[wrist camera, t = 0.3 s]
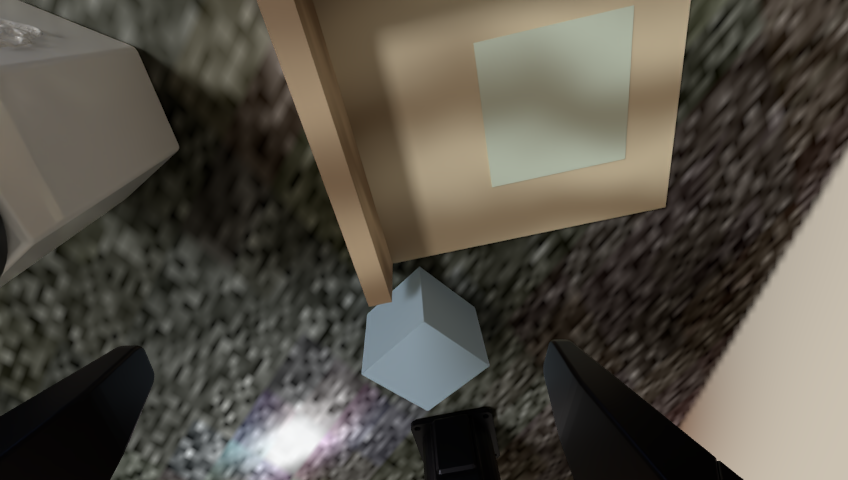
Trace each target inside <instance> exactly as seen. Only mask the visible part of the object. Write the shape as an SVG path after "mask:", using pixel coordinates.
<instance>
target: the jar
mask: <svg viewBox="0 0 848 480" xmlns="http://www.w3.org/2000/svg"><path fill="white" fill-rule="evenodd" d="M178 150H179V144H178V142H177V140H176V138H175V135H174V133H173V131H172V128H171V126H170V124H169V122H168V119H167V117H166V115H165V112H164V110H163V108H162V106H161V103H160V101H159V99H158V96H157V94H156V92H155V90H154V87H153V85H152V83H151V80H150V78H149V76H148V74H147V71H146V69H145V67H144V64H143V62H142V60H141V57H140V55H139V53H138V51H137V50H136V48H134V47H133V46H131V45H128V44H126V43H123V42H121V41H118V40H116V39H113V38H111V37H108V36H106V35H104V34H101V33H99V32H96V31H94V30H91V29H89V28H86V27H84V26H81V25H79V24H76V23H74V22H71V21H69V20H66V19H64V18H61V17H59V16H56V15H54V14H52V13H49V12H47V11H44V10H42V9H39V8H37V7H34V6H32V5H29V4H27V3H24V2H22V1H19V0H0V287H1V286H3V285H4V284H6V283H7V282H8V281H10V280H11V279H13V278H14V277H15V276H17V275H18V274H20V273H21V272H23V271H24V270H25V269H27V268H28V267H30V266H31V265H33V264H34V263H35V262H37V261H38V260H40V259H41V258H42V257H44V256H45V255H47V254H48V253H50V252H51V251H52V250H54V249H55V248H57V247H58V246H60V245H61V244H62V243H64V242H65V241H67V240H68V239H69V238H71V237H72V236H74V235H75V234H77V233H78V232H79V231H81V230H82V229H84V228H85V227H87V226H88V225H89V224H91V223H92V222H94V221H95V220H96V219H98V218H99V217H101V216H102V215H104V214H105V213H106V212H108V211H109V210H111V209H112V208H113V207H115V206H116V205H118V204H119V203H121V202H122V201H123V200H125V199H126V198H127V197H128V196H129V195H131V194H132V193H133V192H134V191H135V190H136V189H137V188H138V187H139V186H140V185H141V184H142V183H144V182H145V181H146V180H147V179H148V178H149V177H150V176H151V175H152V174H153V173H154V172H155V171H157V170H158V169H159V168H160V167H161V166H162V165H163V164H164V163H165V162H166V161H167V160H169V159H170V158H171V157H172V156H173V155H174V154H175V153H176V152H177V151H178Z"/></svg>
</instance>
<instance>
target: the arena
mask: <svg viewBox="0 0 848 480" xmlns="http://www.w3.org/2000/svg"><path fill="white" fill-rule="evenodd" d="M257 2H258V5H259V8H260V11H261V13H262V16H263V19H264V22H265V24H266V27H267V30H268V32H269V35H270V38H271V41H272V43H273V46H274V49H275V52H276V54H277V57H278V60H279V62H280V65H281V68H282V71H283V73H284V76H285V79H286V82H287V84H288V87H289V90H290V92H291V95H292V98H293V101H294V103H295V106H296V109H297V112H298V114H299V117H300V120H301V122H302V125H303V128H304V131H305V133H306V136H307V139H308V141H309V144H310V147H311V150H312V152H313V155H314V158H315V161H316V163H317V166H318V169H319V171H320V174H321V177H322V180H323V182H324V185H325V188H326V191H327V193H328V196H329V199H330V201H331V204H332V207H333V210H334V212H335V215H336V218H337V221H338V223H339V226H340V229H341V231H342V234H343V237H344V240H345V242H346V245H347V248H348V250H349V253H350V256H351V259H352V261H353V264H354V267H355V270H356V272H357V275H358V278H359V280H360V283H361V286H362V289H363V291H364V294H365V297H366V300H367V302H368V305H369V307H370V306H375V305H380V304H385V303H390V302H392V274H393V263H398V262H403V261H408V260H412V259H417V258H422V257H427V256H432V255H437V254H441V253H446V252H451V251H456V250H461V249H466V248H470V247H475V246H480V245H485V244H490V243H495V242H499V241H504V240H509V239H514V238H519V237H524V236H528V235H533V234H538V233H543V232H548V231H553V230H557V229H562V228H567V227H572V226H577V225H582V224H586V223H591V222H596V221H601V220H606V219H611V218H615V217H620V216H625V215H630V214H635V213H640V212H644V211H649V210H654V209H659V208H664V207H666V199H667V191H668V183H669V174H670V166H671V158H672V150H673V142H674V133H675V125H676V117H677V109H678V101H679V93H680V84H681V76H682V68H683V60H684V52H685V43H686V35H687V27H688V19H689V11H690V3H691V0H257Z"/></svg>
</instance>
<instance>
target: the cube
mask: <svg viewBox="0 0 848 480" xmlns="http://www.w3.org/2000/svg"><path fill="white" fill-rule="evenodd" d="M489 366H490V364H489V361H488V357H487V353H486V349H485V345H484V341H483V337H482V333H481V329H480V325H479V322H478V318H477V314H476V310H475V307H474V306H472V305H471V304H470V303H468V302H467V301H465V300H464V299H463V298H461V297H460V296H459V295H457V294H456V293H455V292H453V291H452V290H451V289H449V288H448V287H447V286H445V285H444V284H443V283H441V282H440V281H438V280H437V279H436V278H434V277H433V276H432V275H430V274H429V273H428V272H426V271H425V270H424V269H422V268H421V267H420V266H419V267H418V268H417V269H416V270H415V271H414V272H413V273H412V274H411V275H410V276H408V277H407V278H406V279H405V280H404V281H403V282H402V283H401V284H400V285H399V286H398V287H396V288H395V289H394V290H393V291H392V302H390V303H385V304H380V305H377V306H376V307H375V308H374V309H373V310H371V311H370V312H369V313H368V314H367V324H366V334H365V344H364V354H363V364H362V375H364V376H365V377H367V378H369V379H371V380H373V381H374V382H376V383H378V384H380V385H382V386H383V387H385V388H387V389H389V390H391V391H392V392H394V393H396V394H398V395H400V396H401V397H403V398H405V399H407V400H409V401H410V402H412V403H414V404H416V405H418V406H419V407H421V408H423V409H425V410H427V411H429V410H430V409H431V408H433V407H434V406H435V405H437V404H438V403H440V402H441V401H442V400H444V399H445V398H446V397H448V396H449V395H450V394H452V393H453V392H455V391H456V390H457V389H459V388H460V387H461V386H463V385H464V384H466V383H467V382H468V381H470V380H471V379H472V378H474V377H475V376H476V375H478V374H479V373H481V372H482V371H483V370H485V369H486V368H487V367H489Z"/></svg>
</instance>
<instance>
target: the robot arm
mask: <svg viewBox="0 0 848 480" xmlns="http://www.w3.org/2000/svg"><path fill="white" fill-rule="evenodd" d="M543 369H544V377H545V381H546V385H547V389H548V393H549V398H550V402H551V406H552V410H553V414H554V418H555V422H556V426H557V430H558V434H559V438H560V441H561V444H562V447H563V450H564V453H565V456H566V459H567V461H568V464H569V467H570V470H571V473H572V475H573V478H574V480H743V479H742V478H741V477H739V476H738V475H737V474H736V473H734V472H733V471H732V470H731V469H729V468H728V467H727V466H726V465H724V464H723V463H722V462H721V461H717V460H716V458H715V457H714V456H713V455H712V454H710V453H709V452H708V451H707V450H706V449H704V448H703V447H702V446H701V445H699V444H698V443H697V442H696V441H694V440H693V439H692V438H691V437H689V436H688V435H687V434H686V433H685V432H683V431H682V430H681V429H680V428H678V427H677V426H676V425H675V424H673V423H672V422H671V421H670V420H668V419H667V418H666V417H665V416H663V415H662V414H661V413H660V412H658V411H657V410H656V409H655V408H654V407H652V406H651V405H650V404H649V403H647V402H646V401H645V400H644V399H642V398H641V397H640V396H639V395H637V394H636V393H635V392H634V391H632V390H631V389H630V388H629V387H627V386H626V385H625V384H624V383H622V382H621V381H620V380H619V379H618V378H616V377H615V376H614V375H613V374H611V373H610V372H609V371H608V370H606V369H605V368H604V367H603V366H601V365H600V364H599V363H598V362H596V361H595V360H594V359H593V358H591V357H590V356H589V355H588V354H587V353H585V352H584V351H583V350H582V349H580V348H579V347H578V346H577V345H575V344H574V343H573V342H571V341H570V340H567V339H558V340H551V341H550V343H549V346H548V350H547V354H546V358H545V362H544V368H543ZM153 382H154V371H153V369H152V366H151V364H150V362H149V359H148V357H147V355H146V352H145V350H144V349H143V348H142V347H141V346H120V347H117V348H115V349H113V350H112V351H110V352H108V353H107V354H105V355H103V356H102V357H100V358H98V359H97V360H95V361H93V362H91V363H90V364H88V365H86V366H85V367H83V368H81V369H80V370H78V371H76V372H75V373H73V374H71V375H70V376H68V377H66V378H64V379H63V380H61V381H59V382H58V383H56V384H54V385H53V386H51V387H49V388H48V389H46V390H44V391H42V392H41V393H39V394H37V395H36V396H34V397H32V398H31V399H29V400H27V401H26V402H24V403H22V404H20V405H19V406H17V407H15V408H14V409H12V410H10V411H9V412H7V413H5V414H4V415H2V416H0V480H110V479H111V477H112V475H113V473H114V471H115V470H116V468H117V466H118V464H119V462H120V460H121V458H122V456H123V454H124V452H125V449H126V447H127V445H128V443H129V441H130V438H131V436H132V433H133V431H134V428H135V426H136V424H137V421H138V419H139V416H140V414H141V412H142V409H143V407H144V404H145V402H146V399H147V397H148V395H149V392H150V390H151V387H152V385H153ZM411 430H412V433H413V436H414V438H415V441H416V444H417V447H418V449H419V452H420V455H421V457H422V460H423V463H424V478H425V480H501V479H500V474H499V470H498V465H497V460H496V458H498V457H499V456H500V453H499V448H498V443H497V438H496V432H495V427H494V422H493V417H492V412H491V409H489V408H481V409H476V410H470V411H465V412H459V413H454V414H448V415H443V416H437V417H432V418H426V419H421V420H416V421H413V422H412V423H411Z"/></svg>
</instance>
